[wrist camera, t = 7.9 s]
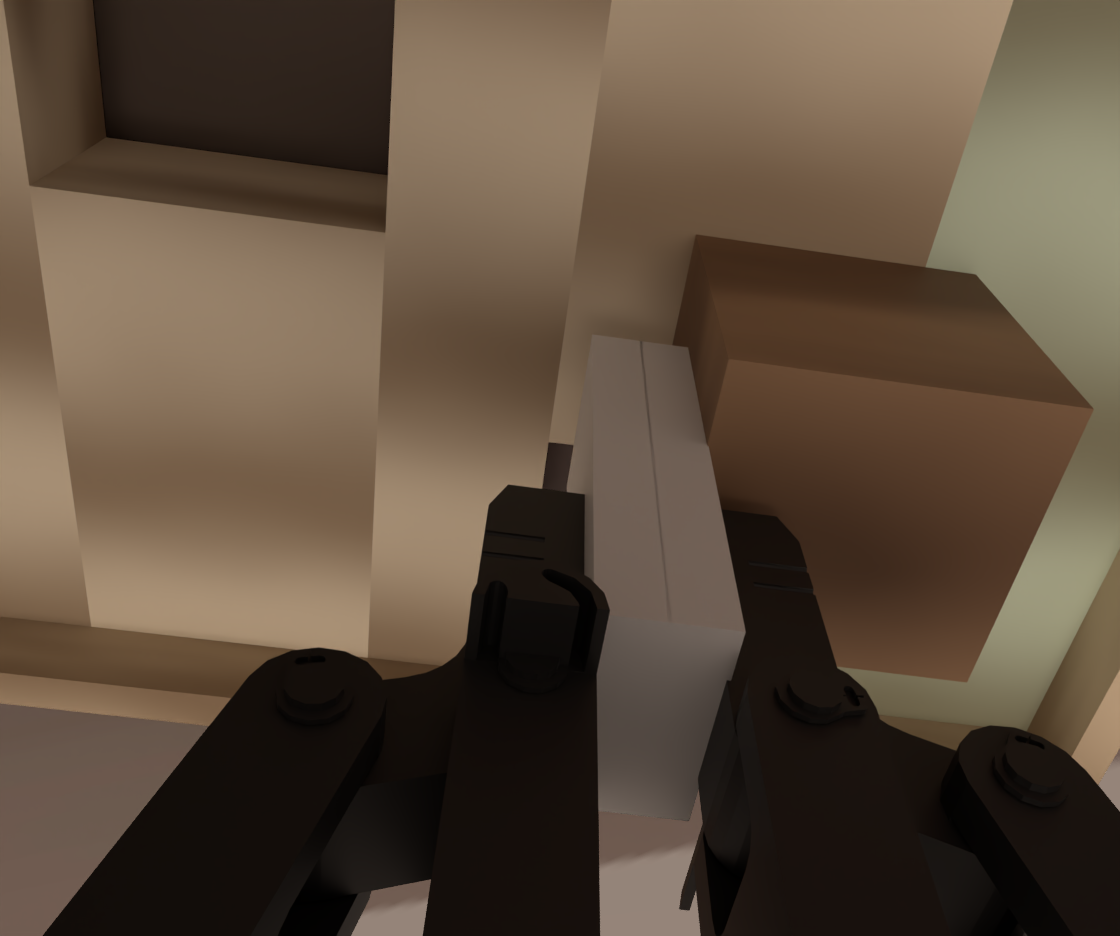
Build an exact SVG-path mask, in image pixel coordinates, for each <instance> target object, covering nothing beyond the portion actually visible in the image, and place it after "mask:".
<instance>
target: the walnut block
mask: <svg viewBox="0 0 1120 936" xmlns="http://www.w3.org/2000/svg"><path fill="white" fill-rule="evenodd" d="M672 345H674V346H681V347H688V350H689V355H690V360H691V365H692V371H693V376H694V381H695V386H696V391H697V396H698V402H699V407H700V412H701V417H702V422H703V427H704V432H705V438H706V443H707V446H709V451H710V456H711V461H712V466H713V471H714V476H715V481H716V486H717V491H718V496H719V501H720V506H721V509H723V510H731V511H739V512H747V513H754V514H762V515H770V516H777V517H778V518H779V520H780V521H781V522H782V523H783V524H784V525H785V526H786V527H787V528H788V530H789V531H790V532H791V533H792V534H793V535H794V536H795V537H796V538H797V540H798V541H799V542H800V546H801V549H802V552H803V555H804V559H805V562H806V565H807V573H809V575H810V579H811V582H812V585H813V589H814V591H813V595H816V599H817V602H818V605H819V608H820V612H821V615H822V618H823V622H824V625H825V628H826V632H827V635H828V638H829V642H830V645H831V648H832V652H833V655H834V658H835V661H836V665H837V667H844V668H852V669H860V670H868V671H876V672H884V673H892V674H901V675H909V676H917V677H925V678H933V679H941V680H949V681H957V682H966V683H967V682H968V680H969V677H970V675H971V673H972V671H973V669H974V667H975V664H976V662H977V660H978V658H979V656H980V654H981V652H982V649H983V647H984V645H985V643H986V641H987V639H988V636H989V634H990V632H991V630H992V628H993V626H994V624H995V621H996V619H997V617H998V615H999V613H1000V611H1001V608H1002V606H1003V604H1004V602H1005V600H1006V598H1007V596H1008V593H1009V591H1010V589H1011V587H1012V585H1013V583H1014V580H1015V578H1016V576H1017V574H1018V572H1019V570H1020V568H1021V565H1022V563H1023V561H1024V559H1025V557H1026V555H1027V552H1028V550H1029V548H1030V546H1031V544H1032V542H1033V540H1034V537H1035V535H1036V533H1037V531H1038V529H1039V527H1040V525H1041V522H1042V520H1043V518H1044V516H1045V514H1046V512H1047V509H1048V507H1049V505H1050V503H1051V501H1052V499H1053V497H1054V494H1055V492H1056V490H1057V488H1058V486H1059V484H1060V481H1061V479H1062V477H1063V475H1064V473H1065V471H1066V469H1067V466H1068V464H1069V462H1070V460H1071V458H1072V456H1073V453H1074V451H1075V449H1076V447H1077V445H1078V443H1079V441H1080V438H1081V436H1082V434H1083V432H1084V430H1085V428H1086V425H1087V423H1088V421H1089V419H1090V417H1091V415H1092V413H1093V410H1094V409H1093V407H1092V406H1091V405H1090V404H1089V403H1088V402H1087V401H1086V399H1085V398H1084V397H1083V396H1082V395H1081V394H1080V393H1079V391H1078V390H1077V389H1076V388H1075V387H1074V386H1073V385H1072V384H1071V382H1070V381H1069V380H1068V379H1067V378H1066V377H1065V376H1064V374H1063V373H1062V372H1061V371H1060V370H1059V369H1058V368H1057V366H1056V365H1055V364H1054V363H1053V362H1052V361H1051V360H1050V358H1049V357H1048V356H1047V355H1046V354H1045V353H1044V352H1043V350H1042V349H1041V348H1040V347H1039V346H1038V345H1037V344H1036V342H1035V341H1034V340H1033V339H1032V338H1031V337H1030V336H1029V334H1028V333H1027V332H1026V331H1025V330H1024V329H1023V328H1022V326H1021V325H1020V324H1019V323H1018V322H1017V321H1016V320H1015V318H1014V317H1013V316H1012V315H1011V314H1010V313H1009V312H1008V310H1007V309H1006V308H1005V307H1004V306H1003V305H1002V304H1001V303H1000V301H999V300H998V299H997V298H996V297H995V296H994V295H993V293H992V292H991V291H990V290H989V289H988V288H987V287H986V285H985V284H984V283H983V282H982V281H981V280H980V279H979V277H978V276H977V275H976V274H969V273H962V272H955V271H948V270H941V269H934V268H927V267H920V266H913V265H906V264H899V263H892V262H885V261H878V260H872V259H865V258H858V257H851V256H844V255H837V254H830V253H823V252H816V251H809V250H802V249H795V248H788V247H781V246H774V245H767V244H760V243H753V242H746V241H739V240H732V239H725V238H718V237H711V236H704V235H697V234H696V236H695V241H694V246H693V250H692V255H691V260H690V264H689V269H688V274H687V278H686V283H685V288H684V292H683V297H682V302H681V306H680V311H679V316H678V321H677V325H676V330H675V335H674V339H673V344H672Z"/></svg>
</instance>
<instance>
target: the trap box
mask: <svg viewBox="0 0 1120 936" xmlns="http://www.w3.org/2000/svg"><path fill="white" fill-rule="evenodd" d="M696 234H697V235H704V236H711V237H718V238H725V239H732V240H739V241H746V242H753V243H760V244H767V245H774V246H781V247H788V248H795V249H802V250H809V251H816V252H823V253H830V254H837V255H844V256H851V257H858V258H865V259H872V260H878V261H885V262H892V263H899V264H906V265H913V266H920V267H927V268H934V269H941V270H948V271H955V272H962V273H969V274H976V275H977V276H978V277H979V279H980V280H981V281H982V282H983V283H984V284H985V285H986V287H987V288H988V289H989V290H990V291H991V292H992V293H993V295H994V296H995V297H996V298H997V299H998V300H999V301H1000V303H1001V304H1002V305H1003V306H1004V307H1005V308H1006V309H1007V310H1008V312H1009V313H1010V314H1011V315H1012V316H1013V317H1014V318H1015V320H1016V321H1017V322H1018V323H1019V324H1020V325H1021V326H1022V328H1023V329H1024V330H1025V331H1026V332H1027V333H1028V334H1029V336H1030V337H1031V338H1032V339H1033V340H1034V341H1035V342H1036V344H1037V345H1038V346H1039V347H1040V348H1041V349H1042V350H1043V352H1044V353H1045V354H1046V355H1047V356H1048V357H1049V358H1050V360H1051V361H1052V362H1053V363H1054V364H1055V365H1056V366H1057V368H1058V369H1059V370H1060V371H1061V372H1062V373H1063V374H1064V376H1065V377H1066V378H1067V379H1068V380H1069V381H1070V382H1071V384H1072V385H1073V386H1074V387H1075V388H1076V389H1077V390H1078V391H1079V393H1080V394H1081V395H1082V396H1083V397H1084V398H1085V399H1086V401H1087V402H1088V403H1089V404H1090V405H1091V406H1092V407H1093V409H1094V410H1093V413H1092V415H1091V417H1090V419H1089V421H1088V423H1087V425H1086V428H1085V430H1084V432H1083V434H1082V436H1081V438H1080V441H1079V443H1078V445H1077V447H1076V449H1075V451H1074V453H1073V456H1072V458H1071V460H1070V462H1069V464H1068V466H1067V469H1066V471H1065V473H1064V475H1063V477H1062V479H1061V481H1060V484H1059V486H1058V488H1057V490H1056V492H1055V494H1054V497H1053V499H1052V501H1051V503H1050V505H1049V507H1048V509H1047V512H1046V514H1045V516H1044V518H1043V520H1042V522H1041V525H1040V527H1039V529H1038V531H1037V533H1036V535H1035V537H1034V540H1033V542H1032V544H1031V546H1030V548H1029V550H1028V552H1027V555H1026V557H1025V559H1024V561H1023V563H1022V565H1021V568H1020V570H1019V572H1018V574H1017V576H1016V578H1015V580H1014V583H1013V585H1012V587H1011V589H1010V591H1009V593H1008V596H1007V598H1006V600H1005V602H1004V604H1003V606H1002V608H1001V611H1000V613H999V615H998V617H997V619H996V621H995V624H994V626H993V628H992V630H991V632H990V634H989V636H988V639H987V641H986V643H985V645H984V647H983V649H982V652H981V654H980V656H979V658H978V660H977V662H976V664H975V667H974V669H973V671H972V673H971V675H970V677H969V680H968V682H967V683H966V682H957V681H949V680H941V679H933V678H925V677H917V676H909V675H901V674H892V673H884V672H876V671H868V670H860V669H852V668H844V667H837V668H838V669H840V670H842V671H844V672H846V673H848V674H849V675H850V676H851V677H852V678H853V679H854V680H856V681H857V682H858V683H859V684H860V685H861V686H862V687H863V688H865V689H866V691H867V693H868V694H869V696H870V698H871V699H872V701H873V703H874V705H875V706H876V708H877V711H878V714H879V717H880V719H881V720H882V721H884V722H885V723H887V724H888V725H890V726H893V727H895V728H897V729H899V730H902V731H904V732H906V733H908V734H911V735H914V736H917V737H920V738H922V739H925V740H928V741H931V742H933V743H936V744H939V745H942V746H945V747H947V748H950V749H953V750H957V748H958V746H959V744H960V742H961V741H962V740H963V739H964V738H965V737H966V736H967V735H968V733H969V732H970V731H971V730H975V729H978V728H982V727H986V726H989V725H993V726H1004V727H1015V728H1018V729H1021V730H1024V731H1026V732H1029V733H1032V734H1035V735H1038V736H1041V737H1043V738H1044V739H1046V740H1048V741H1049V742H1051V743H1053V744H1054V745H1056V746H1057V747H1059V748H1061V749H1062V750H1064V751H1066V752H1067V753H1068V754H1069V755H1070V756H1071V757H1072V758H1073V759H1074V760H1075V761H1077V762H1078V763H1079V764H1080V765H1081V766H1082V767H1083V768H1084V769H1085V770H1086V771H1087V772H1088V773H1089V775H1090V776H1091V777H1092V778H1093V780H1094V781H1095V782H1096V783H1097V784H1099V782H1100V781H1101V779H1102V777H1103V776H1104V774H1105V772H1106V771H1107V769H1108V767H1109V765H1110V764H1111V762H1112V760H1113V759H1114V757H1115V755H1116V753H1117V752H1118V750H1119V748H1120V0H395V17H394V41H393V65H392V89H391V113H390V137H389V160H388V175H382V174H375V173H367V172H360V171H352V170H345V169H337V168H330V167H323V166H315V165H308V164H300V163H293V162H285V161H278V160H271V159H263V158H256V157H248V156H241V155H233V154H226V153H219V152H211V151H204V150H196V149H189V148H181V147H174V146H167V145H159V144H152V143H144V142H137V141H129V140H122V139H115V138H107V137H106V130H105V120H104V110H103V99H102V89H101V79H100V69H99V59H98V49H97V39H96V29H95V19H94V9H93V0H0V703H2V704H12V705H21V706H30V707H39V708H49V709H58V710H67V711H77V712H86V713H95V714H104V715H114V716H123V717H132V718H141V719H151V720H160V721H169V722H178V723H188V724H197V725H206V726H210V724H211V723H212V722H213V720H214V719H215V718H216V717H217V715H218V714H219V713H220V712H221V710H222V709H223V708H224V707H225V705H226V704H227V703H228V702H229V700H230V699H231V698H232V697H233V695H234V694H235V693H236V692H237V690H238V689H239V688H240V686H241V685H242V684H243V683H244V681H245V680H246V679H247V678H248V676H249V675H251V674H252V673H253V672H254V671H255V670H256V669H258V668H259V667H260V666H261V665H262V664H264V663H265V662H266V661H267V660H269V659H272V658H274V657H277V656H279V655H282V654H284V653H287V652H289V651H292V650H300V649H309V648H317V647H320V648H327V649H334V650H341V651H346V652H348V653H350V654H352V655H354V656H356V657H359V658H361V659H363V660H365V661H367V662H368V663H369V664H370V665H371V666H372V667H373V668H374V669H375V670H376V672H377V673H378V674H379V675H380V676H381V677H382V680H386V679H394V678H402V677H408V676H413V675H417V674H422V673H426V672H428V671H431V670H433V669H435V668H438V667H440V666H442V665H444V664H445V663H447V662H448V661H449V660H451V659H452V658H453V657H455V656H456V655H457V654H458V653H459V651H460V650H461V649H462V647H463V646H464V645H465V643H466V639H467V630H468V622H469V613H470V605H471V597H472V592H473V590H474V588H475V586H476V584H477V579H478V573H479V566H480V559H481V553H482V546H483V539H484V533H485V526H486V520H487V513H488V506H489V504H490V503H491V502H492V501H493V500H494V499H495V498H496V497H497V495H498V494H499V493H500V492H501V491H502V490H503V489H504V488H505V487H506V486H507V485H508V484H509V485H517V486H524V487H532V488H540V489H542V485H543V478H544V471H545V464H546V457H547V450H548V443H549V442H552V443H561V444H569V445H574V440H575V434H576V428H577V422H578V416H579V410H580V404H581V398H582V392H583V386H584V380H585V374H586V368H587V362H588V356H589V350H590V344H591V339H592V334H593V335H601V336H608V337H615V338H623V339H630V340H637V341H644V342H652V343H659V344H666V345H672V344H673V339H674V335H675V330H676V325H677V321H678V316H679V311H680V306H681V302H682V297H683V292H684V288H685V283H686V278H687V274H688V269H689V264H690V260H691V255H692V250H693V246H694V241H695V236H696Z"/></svg>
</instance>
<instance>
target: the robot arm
mask: <svg viewBox="0 0 1120 936" xmlns="http://www.w3.org/2000/svg"><path fill="white" fill-rule="evenodd" d="M813 591H814V589H813V585H812V582H811V579H810V575H809V573H807V565H806V562H805V559H804V555H803V552H802V549H801V546H800V542H799V541H798V540H797V538H796V537H795V536H794V535H793V534H792V533H791V532H790V531H789V530H788V528H787V527H786V526H785V525H784V524H783V523H782V522H781V521H780V520H779V518H778V517H777V516H770V515H762V514H754V513H747V512H739V511H731V510H723V509H721V506H720V501H719V496H718V491H717V486H716V481H715V476H714V471H713V466H712V461H711V456H710V451H709V446H707V443H706V438H705V432H704V427H703V422H702V417H701V412H700V407H699V402H698V396H697V391H696V386H695V381H694V376H693V371H692V365H691V360H690V355H689V350H688V347H681V346H674V345H666V344H659V343H652V342H644V341H637V340H630V339H623V338H615V337H608V336H601V335H593V334H592V339H591V344H590V350H589V356H588V362H587V368H586V374H585V380H584V386H583V392H582V398H581V404H580V410H579V416H578V422H577V428H576V434H575V440H574V446H573V452H572V458H571V464H570V470H569V476H568V482H567V492H563V491H555V490H547V489H540V488H532V487H524V486H517V485H509V484H508V485H507V486H506V487H505V488H504V489H503V490H502V491H501V492H500V493H499V494H498V495H497V497H496V498H495V499H494V500H493V501H492V502H491V503H490V504H489V506H488V513H487V520H486V526H485V533H484V539H483V546H482V553H481V559H480V566H479V573H478V579H477V584H476V586H475V588H474V590H473V592H472V597H471V605H470V613H469V622H468V630H467V639H466V643H465V645H464V646H463V647H462V649H461V650H460V651H459V653H458V654H457V655H456V656H455V657H453V658H452V659H451V660H449V661H448V662H447V663H445V664H444V665H442V666H440V667H438V668H435V669H433V670H431V671H428V672H426V673H422V674H417V675H413V676H408V677H402V678H394V679H386V680H382V677H381V676H380V675H379V674H378V673H377V672H376V670H375V669H374V668H373V667H372V666H371V665H370V664H369V663H368V662H367V661H365V660H363V659H361V658H359V657H356V656H354V655H352V654H350V653H348V652H346V651H341V650H334V649H327V648H320V647H317V648H309V649H300V650H292V651H289V652H287V653H284V654H282V655H279V656H277V657H274V658H272V659H269V660H267V661H266V662H265V663H264V664H262V665H261V666H260V667H259V668H258V669H256V670H255V671H254V672H253V673H252V674H251V675H249V676H248V678H247V679H246V680H245V681H244V683H243V684H242V685H241V686H240V688H239V689H238V690H237V692H236V693H235V694H234V695H233V697H232V698H231V699H230V700H229V702H228V703H227V704H226V705H225V707H224V708H223V709H222V710H221V712H220V713H219V714H218V715H217V717H216V718H215V719H214V720H213V722H212V723H211V724H210V726H209V727H208V728H207V729H206V731H205V732H204V733H203V734H202V736H201V737H200V738H199V739H198V741H197V742H196V743H195V744H194V746H193V747H192V748H191V749H190V751H189V752H188V753H187V754H186V756H185V757H184V758H183V760H182V761H181V762H180V763H179V765H178V766H177V767H176V768H175V770H174V771H173V772H172V773H171V775H170V776H169V777H168V778H167V780H166V781H165V782H164V783H163V785H162V786H161V787H160V788H159V790H158V791H157V792H156V794H155V795H154V796H153V797H152V799H151V800H150V801H149V802H148V804H147V805H146V806H145V807H144V809H143V810H142V811H141V812H140V814H139V815H138V816H137V817H136V819H135V820H134V821H133V822H132V824H131V825H130V826H129V828H128V829H127V830H126V831H125V833H124V834H123V835H122V836H121V838H120V839H119V840H118V841H117V843H116V844H115V845H114V846H113V848H112V849H111V850H110V851H109V853H108V854H107V855H106V856H105V858H104V859H103V860H102V862H101V863H100V864H99V865H98V867H97V868H96V869H95V870H94V872H93V873H92V874H91V875H90V877H89V878H88V879H87V880H86V882H85V883H84V884H83V885H82V887H81V888H80V889H79V890H78V892H77V893H76V894H75V895H74V897H73V898H72V899H71V901H70V902H69V903H68V904H67V906H66V907H65V908H64V909H63V911H62V912H61V913H60V914H59V916H58V917H57V918H56V919H55V921H54V922H53V923H52V924H51V926H50V927H49V928H48V929H47V931H46V932H45V933H44V935H43V936H351V934H352V932H353V930H354V928H355V926H356V924H357V922H358V920H359V918H360V916H361V914H362V912H363V910H364V908H365V906H366V904H367V902H368V900H369V898H370V894H371V891H373V890H378V889H383V888H388V887H393V886H398V885H403V884H409V883H414V882H419V881H424V880H429V879H431V884H430V891H429V898H428V904H427V911H426V918H425V925H424V931H423V936H600V902H599V901H600V900H599V819H598V811H604V812H613V813H621V814H630V815H639V816H648V817H657V818H666V819H674V820H683V821H689V819H690V816H691V813H692V809H693V806H694V803H695V799H696V796H697V793H698V789H699V794H700V802H701V811H702V820H703V825H702V828H701V831H700V834H699V837H698V841H697V844H696V847H695V850H694V854H693V857H692V860H691V863H690V866H689V870H688V873H687V876H686V879H685V883H684V886H683V889H682V894H681V900H680V907H679V909H681V910H690V907H691V904H692V900H693V898H694V895H695V891H696V893H697V903H698V913H699V921H700V922H699V923H700V933H701V936H1120V812H1119V810H1118V809H1117V808H1116V807H1115V805H1114V804H1113V803H1112V802H1111V800H1110V799H1109V798H1108V797H1107V796H1106V794H1105V793H1104V792H1103V791H1102V789H1101V788H1100V787H1099V786H1098V784H1097V783H1096V782H1095V781H1094V780H1093V778H1092V777H1091V776H1090V775H1089V773H1088V772H1087V771H1086V770H1085V769H1084V768H1083V767H1082V766H1081V765H1080V764H1079V763H1078V762H1077V761H1075V760H1074V759H1073V758H1072V757H1071V756H1070V755H1069V754H1068V753H1067V752H1066V751H1064V750H1062V749H1061V748H1059V747H1057V746H1056V745H1054V744H1053V743H1051V742H1049V741H1048V740H1046V739H1044V738H1043V737H1041V736H1038V735H1035V734H1032V733H1029V732H1026V731H1024V730H1021V729H1018V728H1015V727H1004V726H993V725H989V726H986V727H982V728H978V729H975V730H971V731H970V732H969V733H968V735H967V736H966V737H965V738H964V739H963V740H962V741H961V742H960V744H959V746H958V748H957V750H953V749H950V748H947V747H945V746H942V745H939V744H936V743H933V742H931V741H928V740H925V739H922V738H920V737H917V736H914V735H911V734H908V733H906V732H904V731H902V730H899V729H897V728H895V727H893V726H890V725H888V724H887V723H885V722H884V721H882V720H881V719H880V717H879V714H878V711H877V708H876V706H875V705H874V703H873V701H872V699H871V698H870V696H869V694H868V693H867V691H866V689H865V688H863V687H862V686H861V685H860V684H859V683H858V682H857V681H856V680H854V679H853V678H852V677H851V676H850V675H849V674H848V673H846V672H844V671H842V670H840V669H838V668H837V665H836V661H835V658H834V655H833V652H832V648H831V645H830V642H829V638H828V635H827V632H826V628H825V625H824V622H823V618H822V615H821V612H820V608H819V605H818V602H817V599H816V595H813Z"/></svg>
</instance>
